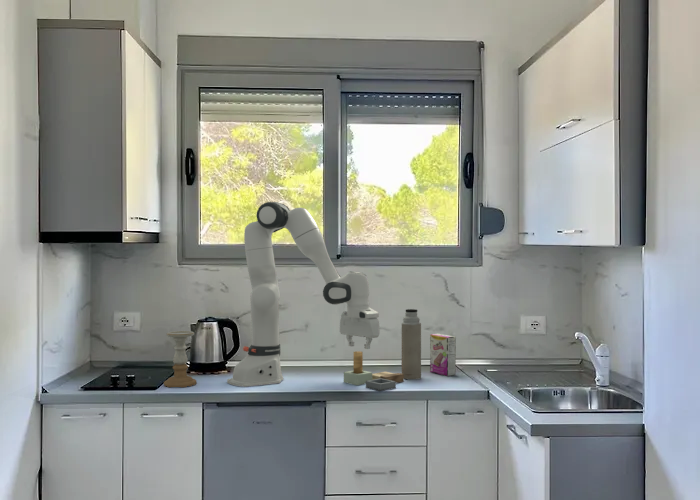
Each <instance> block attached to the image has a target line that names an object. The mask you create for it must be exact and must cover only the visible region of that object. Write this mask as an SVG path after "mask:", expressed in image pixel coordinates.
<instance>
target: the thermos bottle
mask: <svg viewBox="0 0 700 500" xmlns="http://www.w3.org/2000/svg"><path fill="white" fill-rule="evenodd" d="M420 320H421V319H420V317H419V316H418V309H414V308H408V309H405V315H404V317H403V318H402V321H403V322H401V373H402V374H404V380H420V379H422V323H421V322H420Z"/></svg>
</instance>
